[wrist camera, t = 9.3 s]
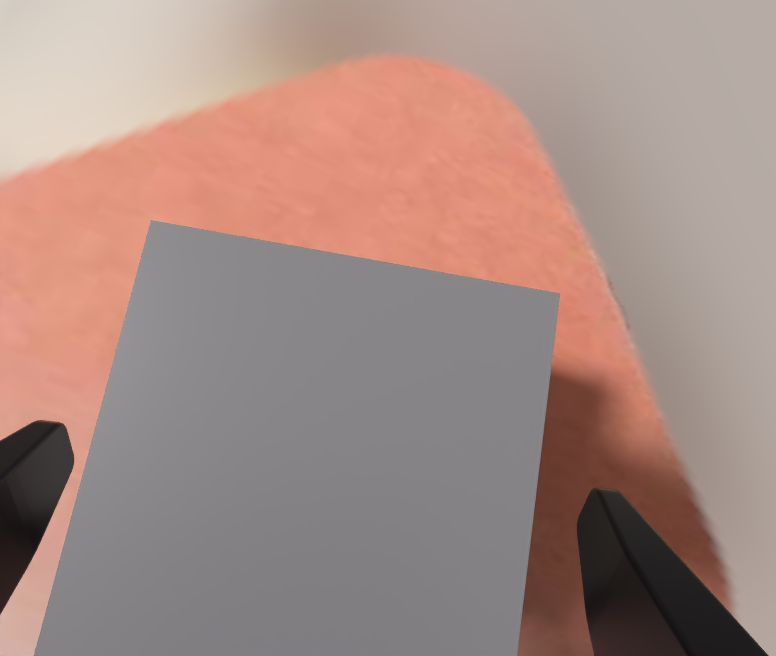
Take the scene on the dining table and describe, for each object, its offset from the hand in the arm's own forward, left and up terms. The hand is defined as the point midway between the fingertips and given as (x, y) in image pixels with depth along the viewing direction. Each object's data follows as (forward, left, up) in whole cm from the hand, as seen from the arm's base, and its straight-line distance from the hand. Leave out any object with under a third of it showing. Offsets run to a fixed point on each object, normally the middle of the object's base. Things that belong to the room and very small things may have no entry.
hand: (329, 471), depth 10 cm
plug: (0, 0, -8) cm, 8 cm away
